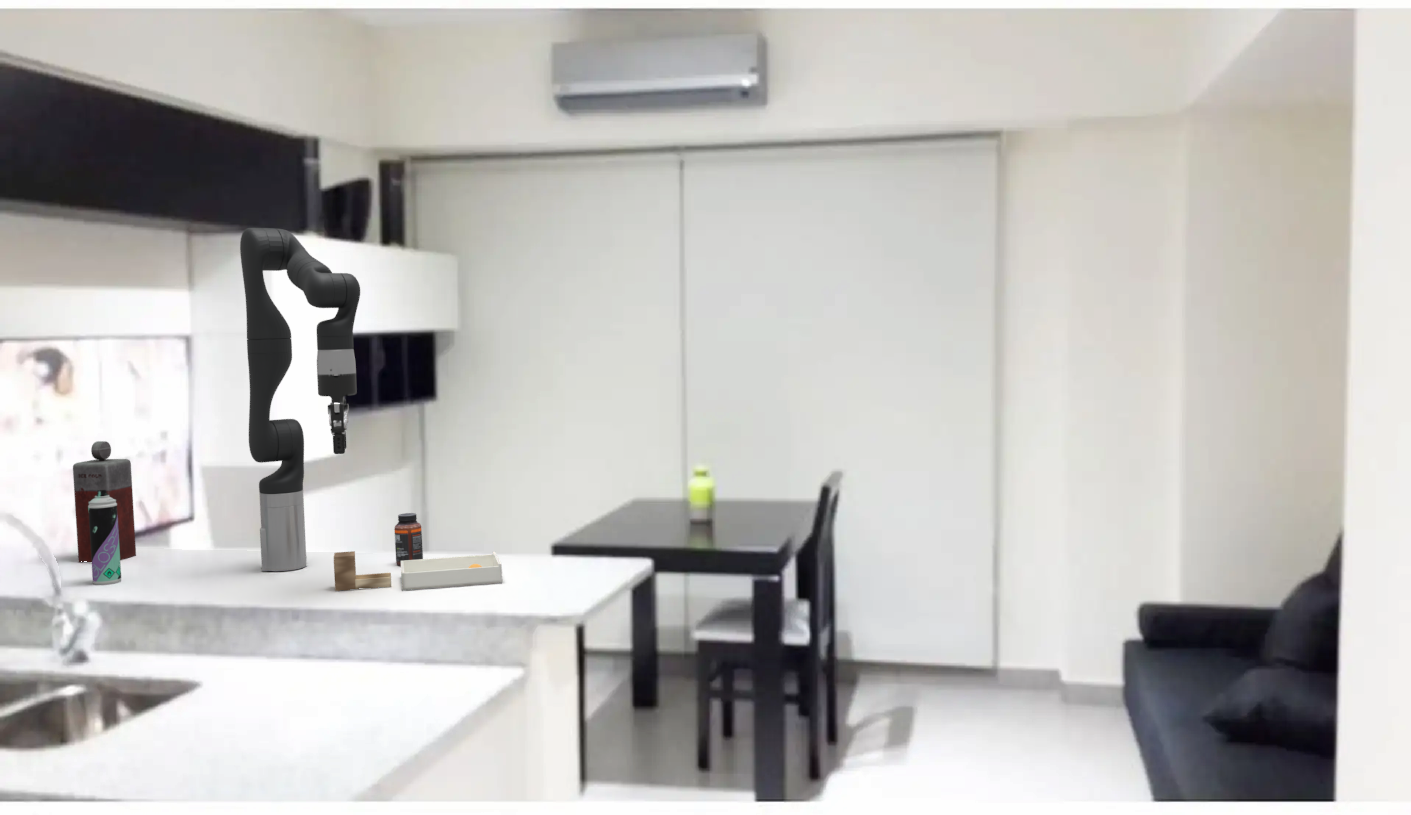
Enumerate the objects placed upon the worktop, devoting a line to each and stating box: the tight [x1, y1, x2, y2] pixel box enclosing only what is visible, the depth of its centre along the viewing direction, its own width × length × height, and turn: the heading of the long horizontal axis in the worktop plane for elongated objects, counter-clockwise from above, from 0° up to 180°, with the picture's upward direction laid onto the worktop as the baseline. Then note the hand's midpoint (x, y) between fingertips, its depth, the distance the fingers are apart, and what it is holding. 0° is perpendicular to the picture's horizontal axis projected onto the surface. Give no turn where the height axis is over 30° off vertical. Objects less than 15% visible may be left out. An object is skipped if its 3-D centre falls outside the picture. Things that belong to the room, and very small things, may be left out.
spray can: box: [88, 490, 122, 586], centre depth 256 cm, size 6×6×20 cm
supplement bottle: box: [393, 512, 424, 567], centre depth 269 cm, size 6×6×11 cm
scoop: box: [333, 550, 392, 592], centre depth 246 cm, size 11×5×7 cm, turn 105°
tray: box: [400, 551, 503, 592], centre depth 251 cm, size 20×14×4 cm
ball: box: [469, 564, 482, 568], centre depth 247 cm, size 3×3×3 cm
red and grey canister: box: [72, 440, 137, 563], centre depth 283 cm, size 9×11×28 cm
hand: (340, 451), depth 244 cm, fingers open, 8 cm apart
